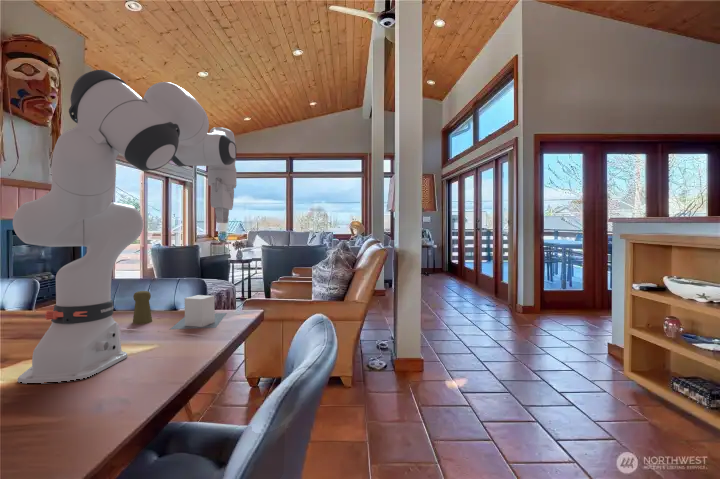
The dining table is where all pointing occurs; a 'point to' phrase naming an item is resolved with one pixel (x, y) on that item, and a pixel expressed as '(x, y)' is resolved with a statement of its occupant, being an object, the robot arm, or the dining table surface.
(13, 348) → the dining table surface
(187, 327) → the mat
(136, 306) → the cork
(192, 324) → the cover
